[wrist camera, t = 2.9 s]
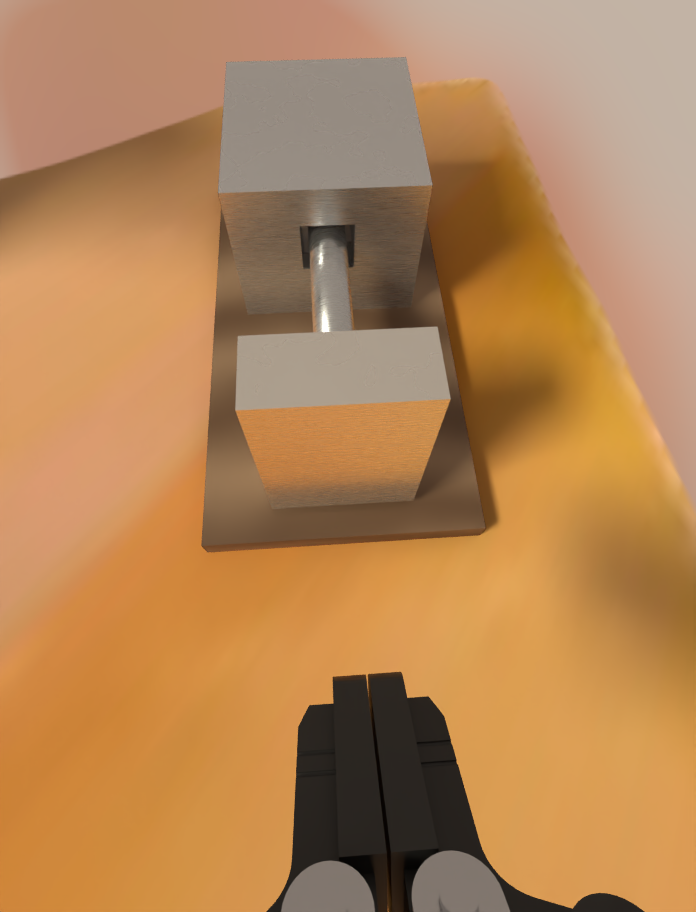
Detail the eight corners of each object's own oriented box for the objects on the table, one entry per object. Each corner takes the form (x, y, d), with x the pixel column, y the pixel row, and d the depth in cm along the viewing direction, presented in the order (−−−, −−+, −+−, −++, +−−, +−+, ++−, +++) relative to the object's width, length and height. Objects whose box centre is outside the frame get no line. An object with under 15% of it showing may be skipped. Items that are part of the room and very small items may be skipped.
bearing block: (411, 307, 31) (432, 185, 24) (248, 314, 31) (217, 193, 23) (392, 190, 36) (405, 57, 28) (250, 195, 35) (226, 61, 28)
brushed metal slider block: (413, 500, 25) (450, 399, 16) (272, 508, 25) (235, 410, 16) (375, 209, 34) (386, 45, 25) (271, 212, 34) (247, 48, 25)
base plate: (479, 535, 26) (485, 528, 25) (207, 552, 25) (201, 545, 24) (414, 185, 38) (417, 170, 36) (226, 192, 37) (223, 177, 36)
